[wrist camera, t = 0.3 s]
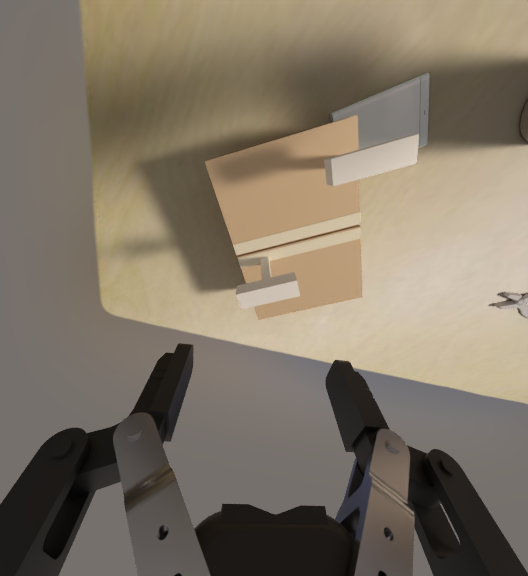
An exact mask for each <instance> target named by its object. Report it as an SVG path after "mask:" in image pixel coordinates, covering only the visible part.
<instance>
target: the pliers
mask: <svg viewBox="0 0 528 576" xmlns="http://www.w3.org/2000/svg"><path fill="white" fill-rule="evenodd" d="M502 295H504V296H506V297H508V298H511V299H512V300H511V301H505V302H499V303H495V305H494V306H496V307H498V308H499V309H516V308H519V311H520V313H521V314H522V315H523V316H525V317H527V318H528V306H527V305H526V304H527V303H528V293H526V294H525V296H524V295H521V294H518V293H510V292H504V293H503V294H502Z"/></svg>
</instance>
